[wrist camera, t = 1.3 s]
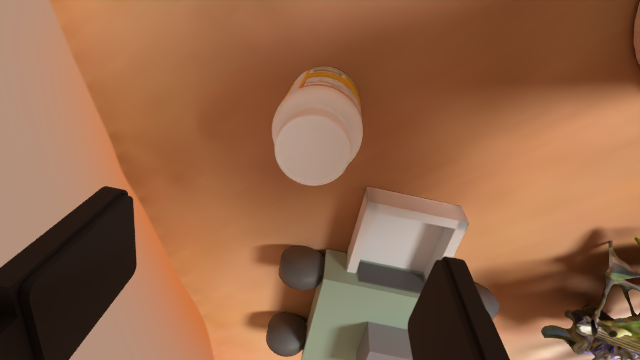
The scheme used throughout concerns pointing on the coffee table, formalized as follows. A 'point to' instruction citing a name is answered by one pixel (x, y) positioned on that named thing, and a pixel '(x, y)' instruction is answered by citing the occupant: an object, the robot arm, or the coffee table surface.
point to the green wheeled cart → (369, 281)
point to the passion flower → (604, 321)
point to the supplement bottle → (318, 126)
